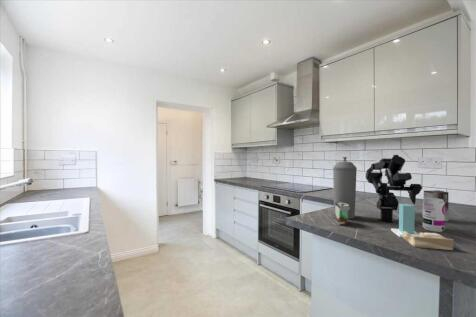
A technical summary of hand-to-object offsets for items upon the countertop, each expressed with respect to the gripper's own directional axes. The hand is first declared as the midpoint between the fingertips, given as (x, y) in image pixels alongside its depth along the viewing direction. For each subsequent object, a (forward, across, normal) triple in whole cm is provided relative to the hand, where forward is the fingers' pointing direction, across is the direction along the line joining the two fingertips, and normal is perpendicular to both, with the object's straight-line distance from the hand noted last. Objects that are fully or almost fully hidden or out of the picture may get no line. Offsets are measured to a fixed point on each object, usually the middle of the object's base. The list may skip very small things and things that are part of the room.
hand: (403, 203), depth 109 cm
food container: (+4, -24, +16) cm, 29 cm away
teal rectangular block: (+11, 0, +6) cm, 13 cm away
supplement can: (+5, +16, +15) cm, 22 cm away
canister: (-5, -21, +25) cm, 33 cm away
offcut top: (+18, +6, -1) cm, 19 cm away
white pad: (+12, 0, +7) cm, 14 cm away
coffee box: (-9, +27, +28) cm, 40 cm away
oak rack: (+20, +3, 0) cm, 20 cm away
